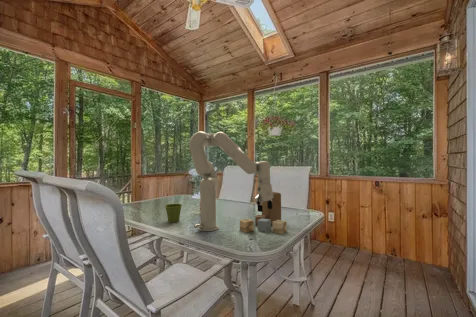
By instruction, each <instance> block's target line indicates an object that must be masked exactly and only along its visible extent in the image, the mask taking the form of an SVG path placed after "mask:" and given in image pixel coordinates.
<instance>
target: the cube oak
mask: <svg viewBox="0 0 476 317" xmlns="http://www.w3.org/2000/svg"><path fill="white" fill-rule="evenodd" d="M254 223H255V221H254V220H253V219H249V218H245V219H240V220H239V231H241V232H242V233H251V232H254V231H255V229H254V228H255V227H254V226H255V224H254Z"/></svg>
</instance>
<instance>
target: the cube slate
mask: <svg viewBox="0 0 476 317" xmlns="http://www.w3.org/2000/svg"><path fill="white" fill-rule="evenodd" d="M256 227H257V231H259V232H260V231H261V232H266V233H267V232H269V231H271V230H272V224H271V219H264V218H262V219H259V220H257V226H256Z"/></svg>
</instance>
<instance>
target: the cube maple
mask: <svg viewBox="0 0 476 317" xmlns="http://www.w3.org/2000/svg"><path fill="white" fill-rule="evenodd" d="M287 228H288V223H287V220H282V219H281V220H276V221H273V224H272V233H276V234H281V235H283V234H284V233H286V232H288V230H287Z"/></svg>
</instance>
